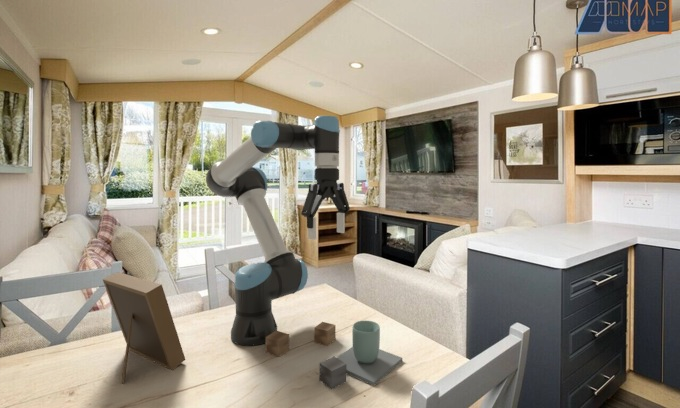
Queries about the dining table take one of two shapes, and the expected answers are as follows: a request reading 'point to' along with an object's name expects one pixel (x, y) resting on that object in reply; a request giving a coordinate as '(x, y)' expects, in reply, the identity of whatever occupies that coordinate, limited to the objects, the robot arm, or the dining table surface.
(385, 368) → the slate board
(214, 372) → the dining table surface
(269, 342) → the walnut block near
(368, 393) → the dining table surface
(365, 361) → the cup
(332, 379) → the charcoal block front
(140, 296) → the photo frame
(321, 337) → the walnut block left
